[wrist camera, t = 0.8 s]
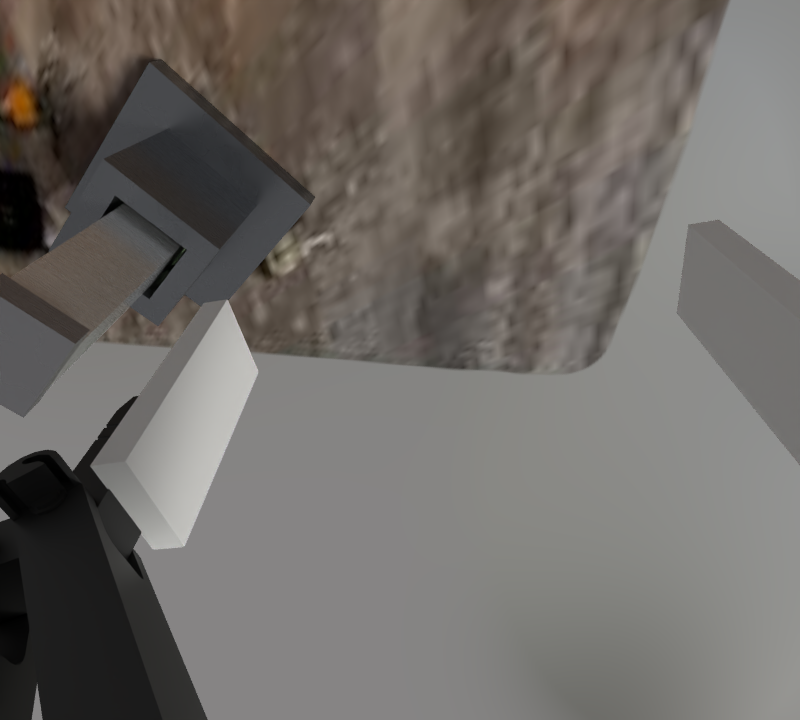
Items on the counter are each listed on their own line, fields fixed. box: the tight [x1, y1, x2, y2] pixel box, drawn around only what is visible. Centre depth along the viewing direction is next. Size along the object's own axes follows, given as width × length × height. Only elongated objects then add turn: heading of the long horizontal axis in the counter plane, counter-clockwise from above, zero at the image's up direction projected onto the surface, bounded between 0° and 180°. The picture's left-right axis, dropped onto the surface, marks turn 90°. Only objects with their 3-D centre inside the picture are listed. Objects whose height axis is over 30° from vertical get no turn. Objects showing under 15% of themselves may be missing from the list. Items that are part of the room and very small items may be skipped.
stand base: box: [49, 60, 315, 326], centre depth 38 cm, size 14×14×11 cm
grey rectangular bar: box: [0, 203, 187, 417], centre depth 32 cm, size 4×6×21 cm
